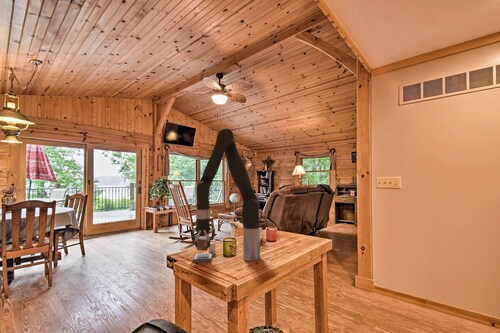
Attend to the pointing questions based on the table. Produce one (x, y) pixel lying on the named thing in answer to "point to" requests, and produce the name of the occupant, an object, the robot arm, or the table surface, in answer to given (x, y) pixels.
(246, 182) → the robot arm
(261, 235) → the duck figurine
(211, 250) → the cream cylinder
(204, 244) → the walnut cube
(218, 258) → the table surface
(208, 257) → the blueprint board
